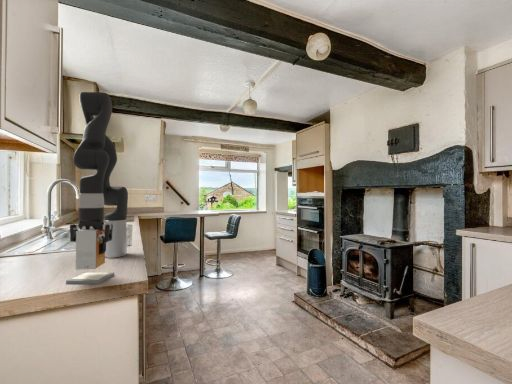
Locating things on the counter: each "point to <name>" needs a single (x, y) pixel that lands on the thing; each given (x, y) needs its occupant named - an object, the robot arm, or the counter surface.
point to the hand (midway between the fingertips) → (91, 253)
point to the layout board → (90, 278)
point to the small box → (88, 249)
